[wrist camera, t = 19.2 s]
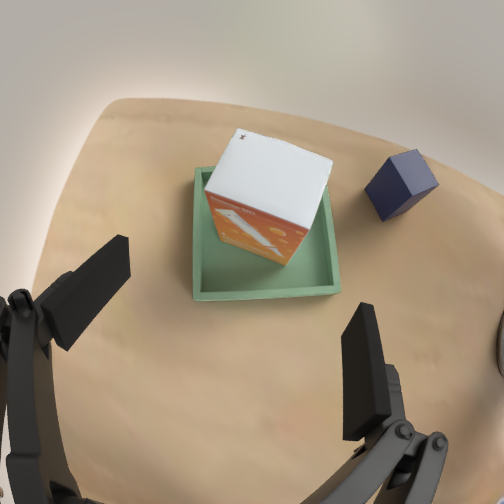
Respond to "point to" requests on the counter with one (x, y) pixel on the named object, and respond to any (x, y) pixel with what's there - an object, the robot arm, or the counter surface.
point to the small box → (266, 194)
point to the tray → (260, 259)
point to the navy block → (400, 184)
